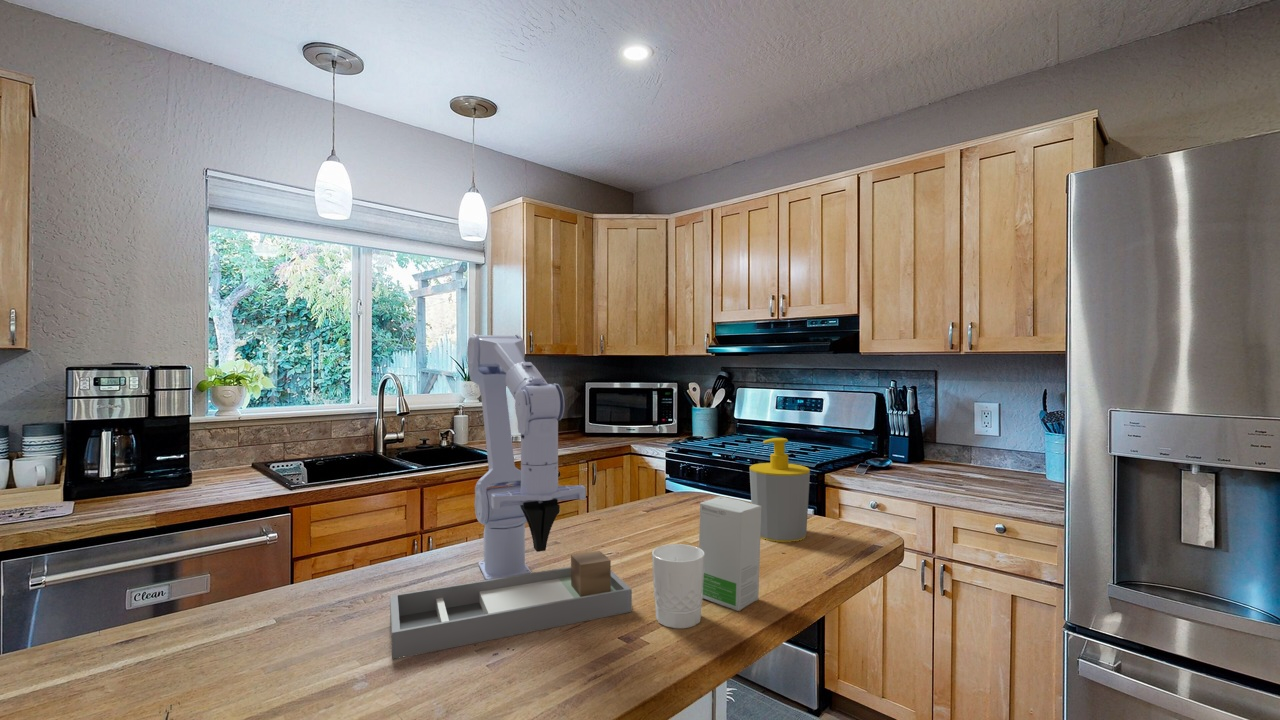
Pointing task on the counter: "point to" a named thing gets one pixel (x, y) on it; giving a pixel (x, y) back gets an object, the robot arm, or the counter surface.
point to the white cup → (678, 584)
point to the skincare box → (730, 551)
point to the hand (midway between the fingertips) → (539, 549)
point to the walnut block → (590, 573)
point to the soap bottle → (781, 495)
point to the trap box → (496, 610)
